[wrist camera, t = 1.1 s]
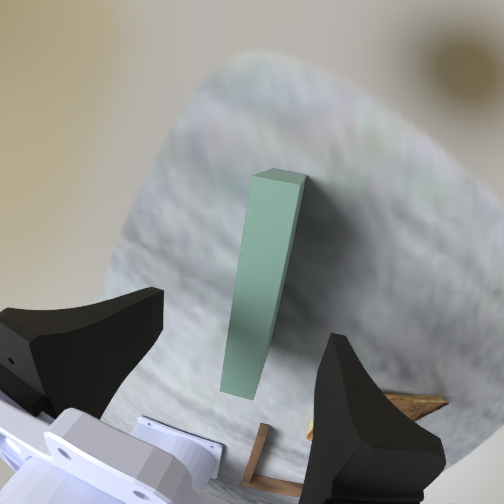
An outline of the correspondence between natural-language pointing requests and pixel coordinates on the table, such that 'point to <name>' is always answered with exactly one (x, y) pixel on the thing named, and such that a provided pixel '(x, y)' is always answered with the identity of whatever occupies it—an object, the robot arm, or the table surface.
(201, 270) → the table surface
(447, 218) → the table surface
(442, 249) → the table surface
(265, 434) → the walnut frame
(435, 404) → the shard
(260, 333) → the bar
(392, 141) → the table surface
